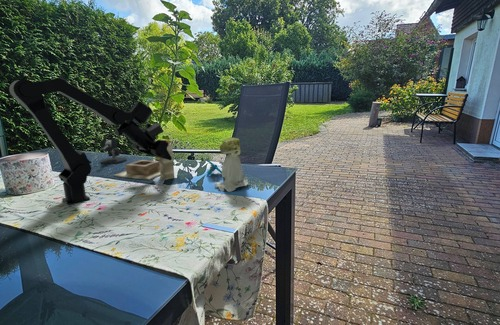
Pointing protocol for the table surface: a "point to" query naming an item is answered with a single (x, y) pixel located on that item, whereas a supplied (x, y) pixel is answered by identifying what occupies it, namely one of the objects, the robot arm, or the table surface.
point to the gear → (212, 168)
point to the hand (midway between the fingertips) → (164, 157)
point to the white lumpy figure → (231, 166)
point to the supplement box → (158, 157)
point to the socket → (141, 170)
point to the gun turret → (111, 152)
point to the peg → (167, 165)
